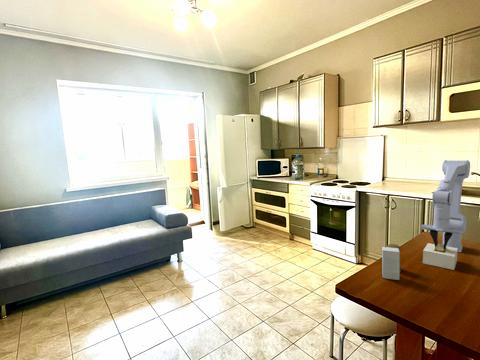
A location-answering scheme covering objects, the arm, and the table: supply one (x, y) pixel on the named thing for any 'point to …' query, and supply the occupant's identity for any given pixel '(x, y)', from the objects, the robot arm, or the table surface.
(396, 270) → the skincare box
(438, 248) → the wooden brick
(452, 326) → the table surface
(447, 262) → the slot box
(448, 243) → the robot arm
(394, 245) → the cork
